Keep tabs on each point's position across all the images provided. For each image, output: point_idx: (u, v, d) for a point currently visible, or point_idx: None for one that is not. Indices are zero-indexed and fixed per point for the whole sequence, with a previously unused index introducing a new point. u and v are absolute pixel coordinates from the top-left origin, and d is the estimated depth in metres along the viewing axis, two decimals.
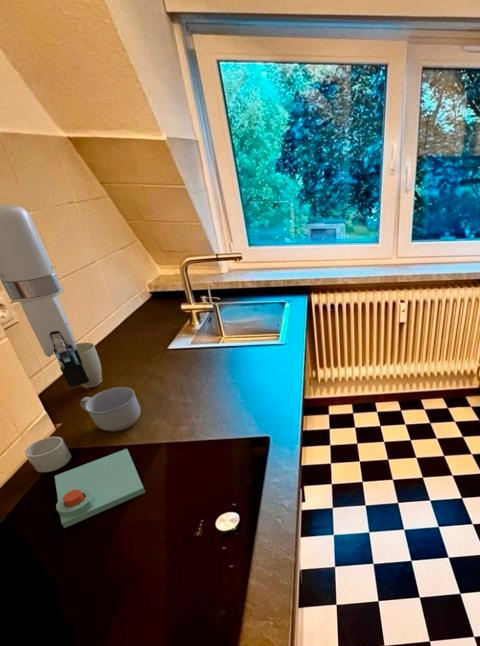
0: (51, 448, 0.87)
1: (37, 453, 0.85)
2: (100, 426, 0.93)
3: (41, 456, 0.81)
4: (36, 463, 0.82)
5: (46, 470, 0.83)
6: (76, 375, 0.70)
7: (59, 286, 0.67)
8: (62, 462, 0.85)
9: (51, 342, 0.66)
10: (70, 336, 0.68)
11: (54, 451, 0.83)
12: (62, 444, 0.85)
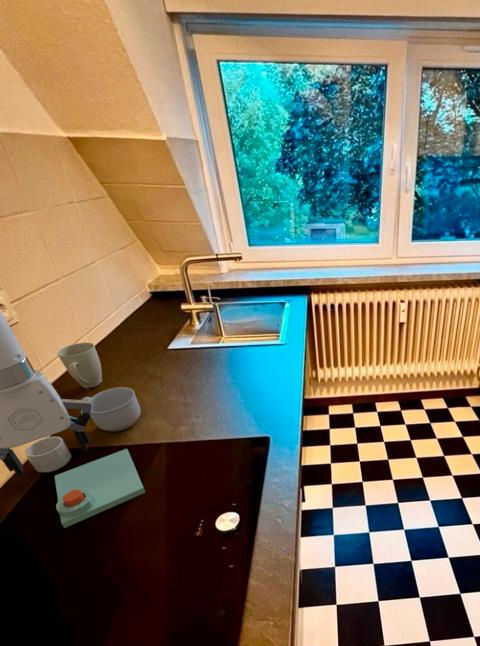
0: (51, 448, 0.87)
1: (37, 453, 0.85)
2: (100, 426, 0.93)
3: (41, 456, 0.81)
4: (36, 463, 0.82)
5: (46, 470, 0.83)
6: (86, 435, 0.70)
7: None
8: (62, 462, 0.85)
9: (66, 409, 0.66)
10: None
11: (54, 451, 0.83)
12: (62, 444, 0.85)
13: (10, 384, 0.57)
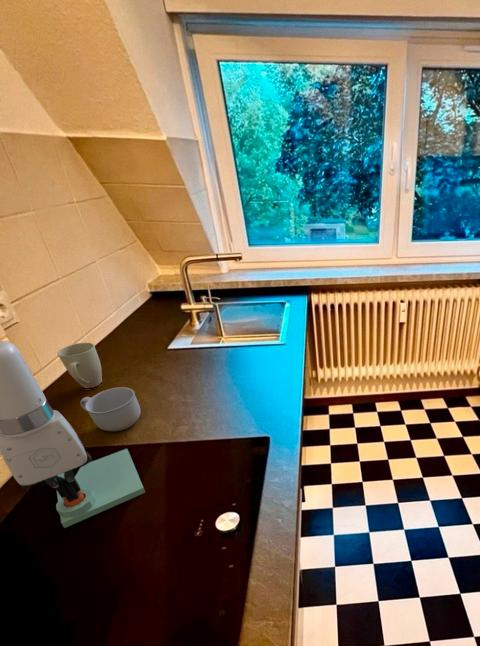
0: None
1: None
2: (100, 426, 0.93)
3: None
4: None
5: None
6: (77, 483, 0.72)
7: None
8: None
9: (82, 446, 0.69)
10: None
11: None
12: None
13: (31, 427, 0.61)
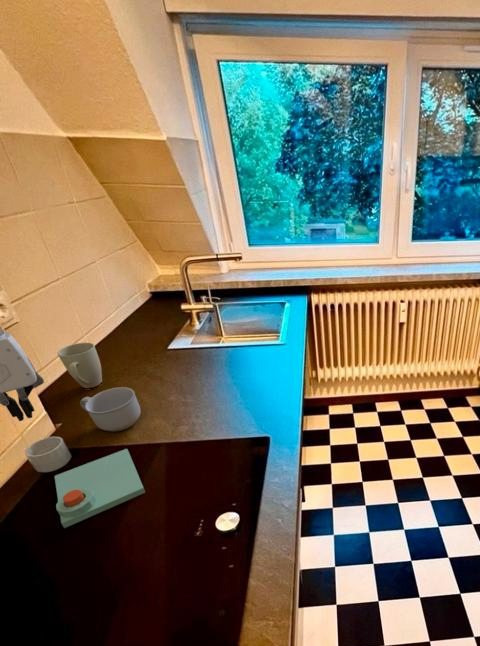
0: (51, 448, 0.87)
1: (37, 453, 0.85)
2: (100, 426, 0.93)
3: (41, 456, 0.81)
4: (36, 463, 0.82)
5: (46, 470, 0.83)
6: (31, 404, 0.79)
7: None
8: (62, 462, 0.85)
9: (32, 367, 0.76)
10: (29, 362, 0.78)
11: (54, 451, 0.83)
12: (62, 444, 0.85)
13: None
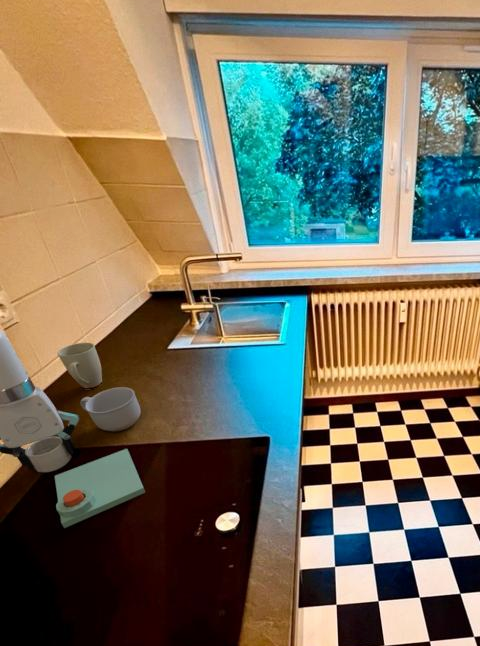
0: (51, 448, 0.87)
1: (37, 453, 0.85)
2: (100, 426, 0.93)
3: (41, 456, 0.81)
4: (36, 463, 0.82)
5: (46, 470, 0.83)
6: (72, 441, 0.87)
7: None
8: (62, 462, 0.85)
9: (60, 417, 0.83)
10: None
11: (54, 451, 0.83)
12: (62, 444, 0.85)
13: (16, 398, 0.74)
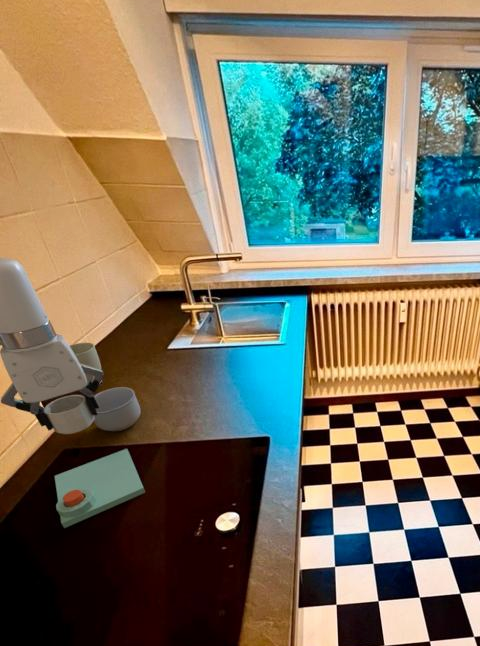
0: (72, 408, 0.77)
1: (57, 413, 0.75)
2: (100, 426, 0.93)
3: (62, 414, 0.72)
4: (56, 422, 0.72)
5: (67, 431, 0.73)
6: (95, 401, 0.77)
7: None
8: (85, 423, 0.75)
9: (83, 370, 0.73)
10: None
11: (77, 409, 0.73)
12: (85, 402, 0.75)
13: (35, 343, 0.64)
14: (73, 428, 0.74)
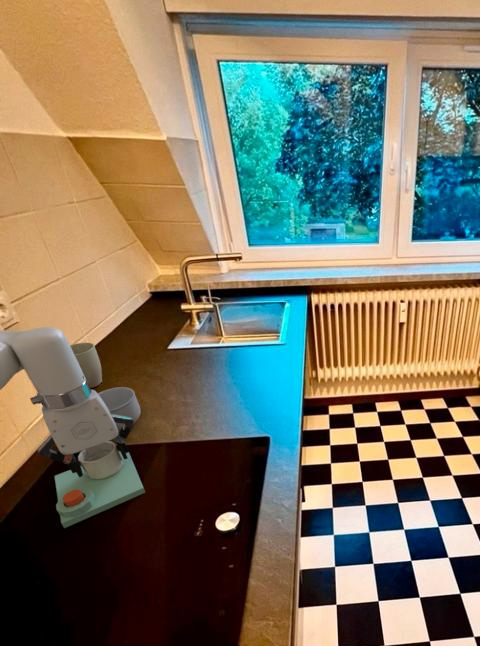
0: (102, 453, 0.83)
1: (89, 459, 0.81)
2: None
3: (95, 462, 0.77)
4: (90, 469, 0.78)
5: (99, 477, 0.79)
6: None
7: None
8: (115, 468, 0.81)
9: (114, 421, 0.78)
10: None
11: (108, 457, 0.79)
12: (115, 449, 0.81)
13: (74, 402, 0.70)
14: (105, 474, 0.79)
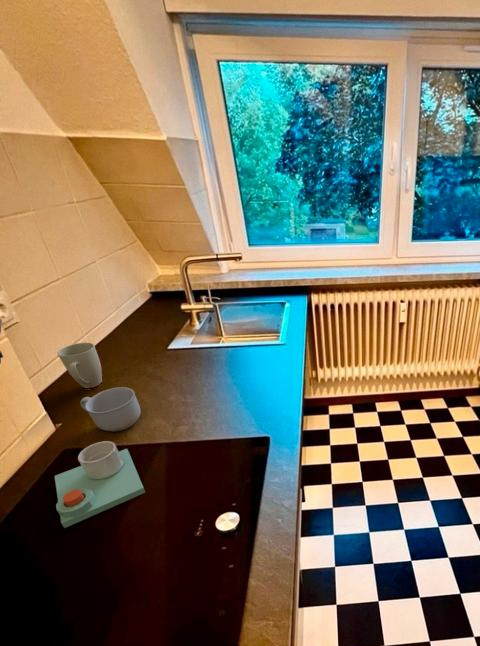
0: (102, 453, 0.83)
1: (89, 459, 0.81)
2: (100, 426, 0.93)
3: (95, 462, 0.77)
4: (90, 469, 0.78)
5: (99, 477, 0.79)
6: None
7: None
8: (115, 468, 0.81)
9: None
10: None
11: (108, 457, 0.79)
12: (115, 449, 0.81)
13: None
14: (105, 474, 0.79)
